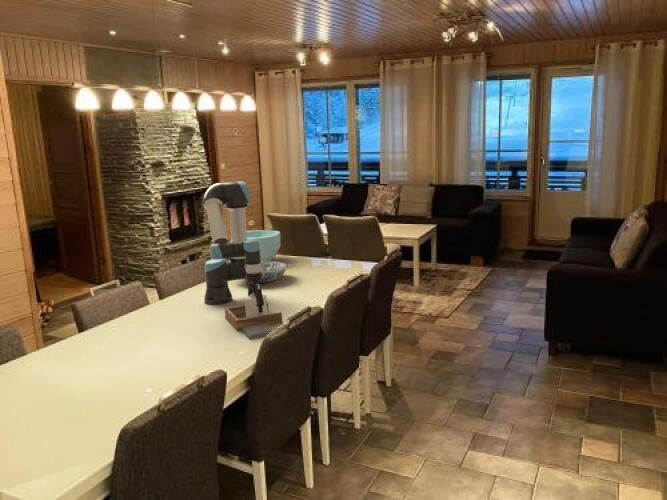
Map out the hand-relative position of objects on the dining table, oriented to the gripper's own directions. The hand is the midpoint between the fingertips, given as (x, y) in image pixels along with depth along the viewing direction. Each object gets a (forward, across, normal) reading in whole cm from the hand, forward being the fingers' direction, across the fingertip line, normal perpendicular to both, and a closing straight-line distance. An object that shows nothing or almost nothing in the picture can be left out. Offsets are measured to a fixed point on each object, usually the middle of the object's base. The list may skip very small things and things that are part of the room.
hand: (256, 315), depth 276 cm
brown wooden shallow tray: (+2, 0, -2) cm, 3 cm away
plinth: (+2, +19, -5) cm, 20 cm away
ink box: (+3, 0, 0) cm, 3 cm away
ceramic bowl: (+2, -72, +25) cm, 76 cm away
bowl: (+2, -119, +36) cm, 124 cm away
